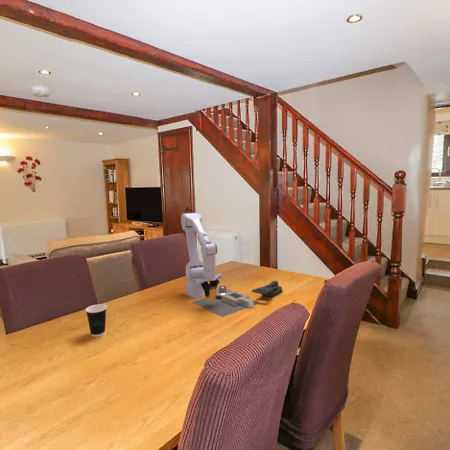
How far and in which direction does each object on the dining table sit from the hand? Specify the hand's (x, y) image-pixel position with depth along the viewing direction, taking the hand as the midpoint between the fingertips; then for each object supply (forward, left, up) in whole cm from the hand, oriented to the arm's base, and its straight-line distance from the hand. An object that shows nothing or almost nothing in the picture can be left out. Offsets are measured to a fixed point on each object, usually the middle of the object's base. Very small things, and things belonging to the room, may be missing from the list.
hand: (209, 295), depth 155 cm
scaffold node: (+2, +13, -5) cm, 14 cm away
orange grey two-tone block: (0, 0, -2) cm, 2 cm away
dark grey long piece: (+10, +31, -6) cm, 33 cm away
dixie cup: (-8, -51, -6) cm, 52 cm away
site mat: (+2, +8, -6) cm, 10 cm away
